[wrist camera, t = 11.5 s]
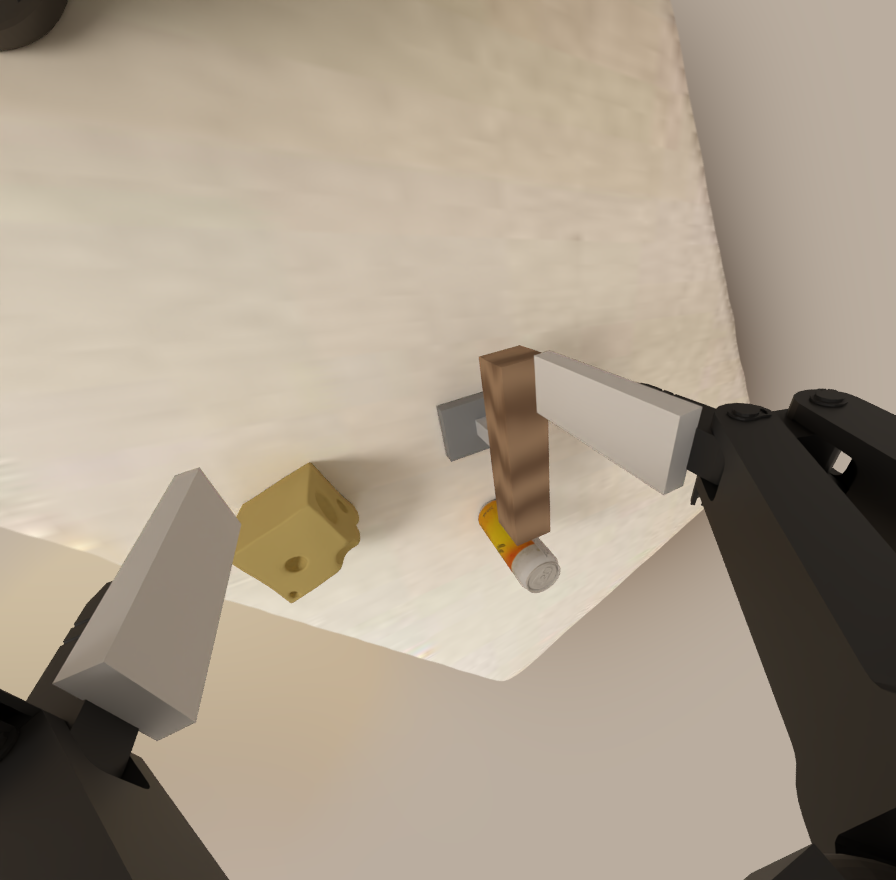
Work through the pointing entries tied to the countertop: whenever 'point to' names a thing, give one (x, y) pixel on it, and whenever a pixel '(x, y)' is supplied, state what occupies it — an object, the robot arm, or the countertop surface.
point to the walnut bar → (517, 443)
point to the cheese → (296, 533)
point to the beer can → (521, 553)
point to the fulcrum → (464, 426)
